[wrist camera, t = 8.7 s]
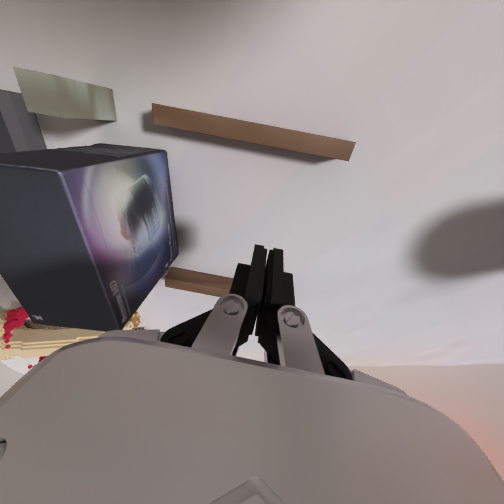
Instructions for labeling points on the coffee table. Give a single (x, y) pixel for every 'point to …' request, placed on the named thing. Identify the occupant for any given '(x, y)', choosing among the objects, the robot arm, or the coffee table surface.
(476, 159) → the coffee table surface
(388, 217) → the coffee table surface
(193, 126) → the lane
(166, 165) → the small box
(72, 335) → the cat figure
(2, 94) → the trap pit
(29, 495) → the robot arm
